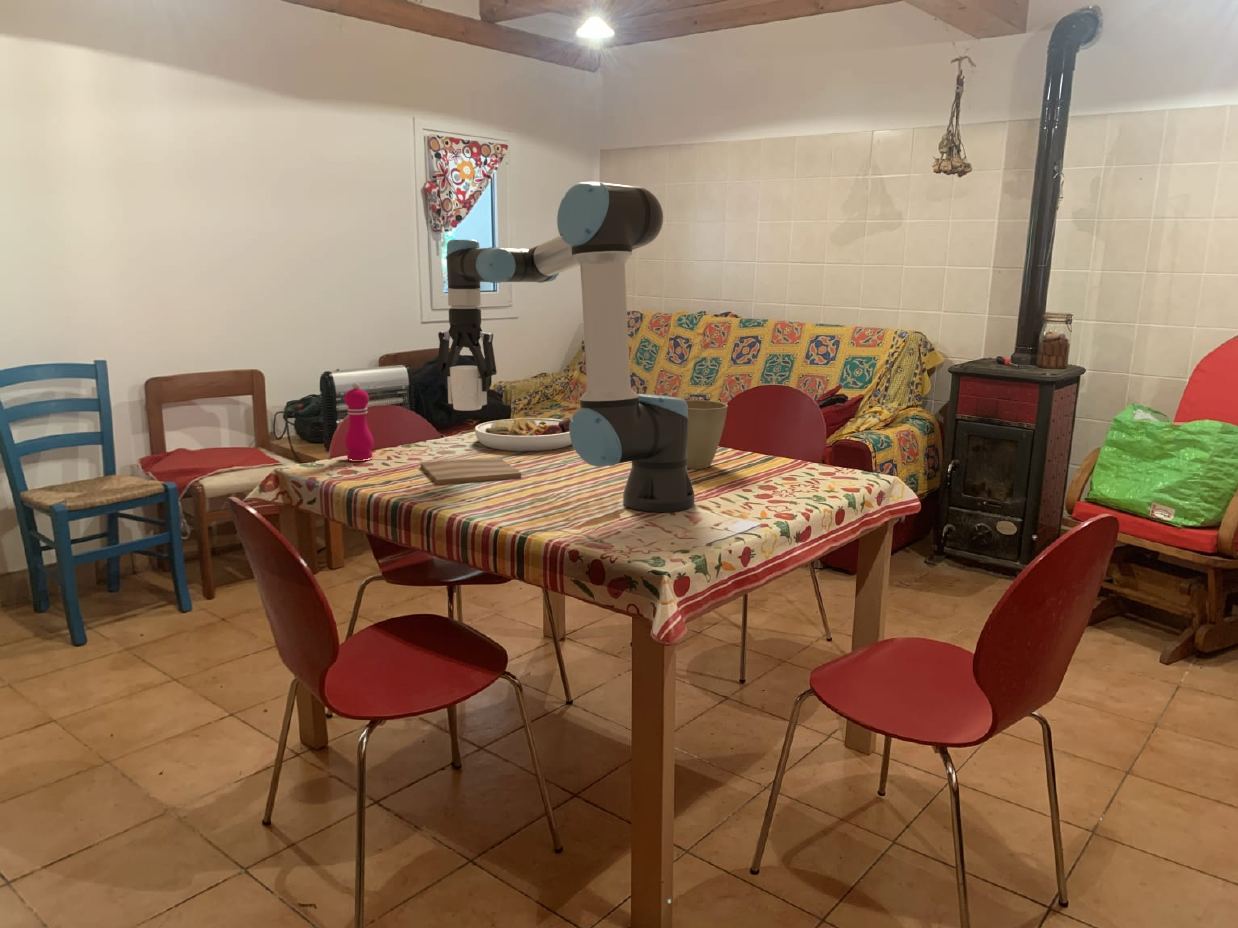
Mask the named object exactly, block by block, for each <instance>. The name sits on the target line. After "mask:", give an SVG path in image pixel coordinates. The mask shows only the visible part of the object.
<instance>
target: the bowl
mask: <svg viewBox="0 0 1238 928" xmlns="http://www.w3.org/2000/svg"><path fill="white" fill-rule="evenodd" d="M571 420H572V419H567V418H565V419H554V418H553V419H550V418H524V417H516V418H510V419H509V418H508V419H499V420H492V421H487V422H483V423H479V424H478V425H476V426H475V427H474V433H475V438H476V439H477V441H479V443H480V444H481V445H482V446H485V447H486V448H489V447H490V448H489V449H493V450H498V449H499V451H505V452H506V451H509V452H543V451H554V450H558V449H563V448H567V447H569V446H572V442H571V438H570V432H569V426H570V421H571ZM553 449H554V450H553Z"/></svg>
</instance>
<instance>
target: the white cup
mask: <svg viewBox="0 0 1238 928" xmlns="http://www.w3.org/2000/svg"><path fill="white" fill-rule="evenodd" d="M479 377H480V373H479V371H478V368H477V365H456V366H454V367H450V380H451V392H452V398H453V403H452V407H453V410H454V411H455V410H456V411H462V412H464V411H466V412H467V411H469V412H470V411H478V410H481V409H482V407H483V406H478V378H479Z"/></svg>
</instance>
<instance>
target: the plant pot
mask: <svg viewBox="0 0 1238 928" xmlns="http://www.w3.org/2000/svg"><path fill="white" fill-rule="evenodd" d="M683 400H684V401H686V403H687V405H688V417H689V420H688V445H687V469H688V468H691V469H690V470H703V469H702V468H706V469H708V468H707V467H709V466H710V467H711V465H712V463H713V461H714V459H715V456H716V453H717V450H718V447H719V444H720V441H721V439H722V435H723V431H724V427H725V423H726V418H727V411H728V407H729V405H728V404H726V403H724V402H720V401H713V400H705V399H704V400H703V399H700V400H699V399H683ZM710 467H709V468H710Z"/></svg>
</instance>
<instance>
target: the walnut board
mask: <svg viewBox="0 0 1238 928" xmlns="http://www.w3.org/2000/svg"><path fill="white" fill-rule="evenodd" d="M420 469H422V471H424V473H426V475H427V474H428V476H427V477H429V478H430V479H431V478H432V479H431V480H432V481H433V483H435V484H436V485H437V486H440V485H441V486H442V485H449V484H450V485H451V484H452V485H453V484H462V483H475V482H476V483H477V482H486V481H498V480H508V479H520V478H522V472H521V471H519V470H518V469H517V468H515V467H513V466H512V465H511V464H509V463H508V462H506V460H503V459H502V458H501V457H499V456H494V457H493V456H491V457H482V458H481V457H480V458H479V457H478V458H477V457H476V458H466V459H464V458H463V459H453V460H452V459H451V460H440V461H429V462H428V461H427V462H420Z"/></svg>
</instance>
